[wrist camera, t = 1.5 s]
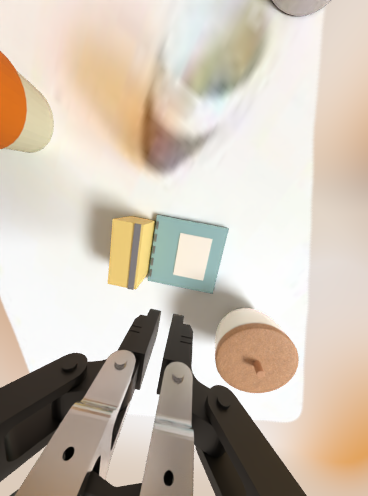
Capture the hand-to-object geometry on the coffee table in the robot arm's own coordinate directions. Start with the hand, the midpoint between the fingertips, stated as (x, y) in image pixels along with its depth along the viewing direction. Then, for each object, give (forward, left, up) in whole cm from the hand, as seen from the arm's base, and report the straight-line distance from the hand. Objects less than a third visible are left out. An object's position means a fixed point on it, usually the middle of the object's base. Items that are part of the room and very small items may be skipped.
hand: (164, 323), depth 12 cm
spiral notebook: (0, 0, -17) cm, 17 cm away
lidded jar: (+11, +12, -17) cm, 24 cm away
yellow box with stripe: (0, -8, -17) cm, 19 cm away
